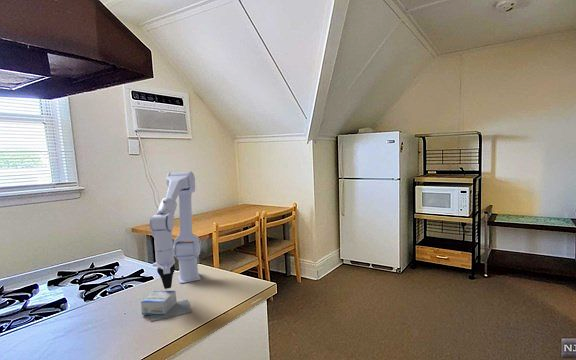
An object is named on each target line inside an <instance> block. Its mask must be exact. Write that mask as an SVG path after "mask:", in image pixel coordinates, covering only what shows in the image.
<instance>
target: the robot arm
mask: <svg viewBox="0 0 576 360" xmlns="http://www.w3.org/2000/svg"><path fill="white" fill-rule="evenodd" d="M165 182H166V186H167V191H166V195H165V197H164V198H162V199H161V201H160V202H159V205H158V207H157V211H156V213H155V214H154V215H152V216H151V217H150V219H149V229H150V232H151V236H152V237H153V238H154V251H155V252H154V253H155V262H153V263H152V267H157V268H156V271H157V274H158V275H159V277H160V279H161V282H162V285H163V288H164V290H167V289H171V288H172V283H173V276H174V274H175V271H176V267H175V263H176V261H175V259H176V260H178V269H179V274H178V275H177V277H178V280H179V284H186V283H191V282H195V281H201V280H202V279H201V278H202V277H200V276H201V275H200V274H199V268H198V257H199V255H200V254H201V243H200V242H201V241H200V237H199V236H197V235H196V234H194V233H193V220H192V219H193V217H192V215H193V211H192V195H193V194H192V193H194V192H195V191H196V176H195V174H194V172H193V171H181V172H179V171H177V172H168V173H167V174H166V178H165ZM177 199H178V202H179V203H177ZM178 206H179V207H178ZM177 208H178V211H179V213H178V214H179V234H178V235H177V236H176V237H174V239H173V233H172V232H173V231H172V230H173V229H174V227H175V226H174V225H175V216H174V215H175V212H176V210H177Z"/></svg>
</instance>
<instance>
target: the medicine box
mask: <svg viewBox="0 0 576 360" xmlns="http://www.w3.org/2000/svg"><path fill="white" fill-rule="evenodd" d="M177 302H178V301H177V293H176V290H154V291H153V292H151V293H150V294H149V295H147V297H145V298H144V299H142V300H141V301H140V303H141V304H140V305H141V307H140V308H141V315H142V316H143V315H146V316H147V315H148V316H149V315H150V316H151V314H166V313H167V312H168V311H169V310H170V309H171V308H172V307H173V306H174V305H175V304H176V303H177Z"/></svg>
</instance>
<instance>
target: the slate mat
mask: <svg viewBox="0 0 576 360" xmlns="http://www.w3.org/2000/svg"><path fill="white" fill-rule="evenodd" d="M191 313H192V309H191V306H190V302H189V299H183V300H179V301H177V303H176V304H175V305H174V306H173V307H172V308H171V309H170V310H169V311H168V312H167V313H166V314H150V322H151V323H152V322H155V321H160V320H165V319H168V318H169V319H170V318H174V317H177V316H182V315H186V314H191Z"/></svg>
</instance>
